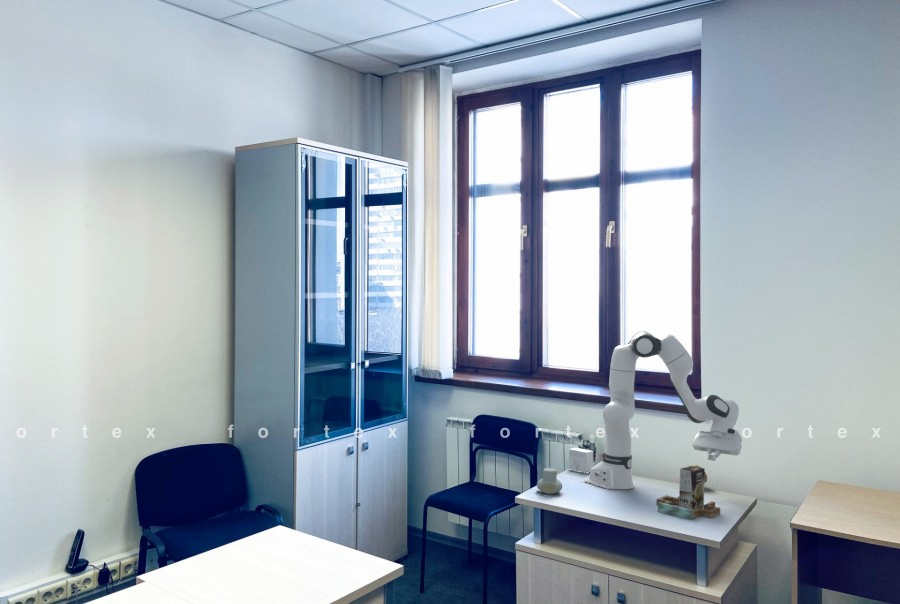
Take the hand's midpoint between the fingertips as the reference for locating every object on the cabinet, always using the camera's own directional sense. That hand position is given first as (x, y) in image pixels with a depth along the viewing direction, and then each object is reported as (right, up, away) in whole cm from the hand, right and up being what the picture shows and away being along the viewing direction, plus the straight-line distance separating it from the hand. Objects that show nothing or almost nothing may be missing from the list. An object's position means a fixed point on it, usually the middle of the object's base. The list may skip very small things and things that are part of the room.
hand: (711, 459), depth 289 cm
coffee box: (-13, -17, -12) cm, 24 cm away
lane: (-15, -17, -15) cm, 27 cm away
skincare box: (-47, -16, +45) cm, 67 cm away
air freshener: (-68, -16, +7) cm, 70 cm away
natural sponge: (+1, -17, +19) cm, 25 cm away
